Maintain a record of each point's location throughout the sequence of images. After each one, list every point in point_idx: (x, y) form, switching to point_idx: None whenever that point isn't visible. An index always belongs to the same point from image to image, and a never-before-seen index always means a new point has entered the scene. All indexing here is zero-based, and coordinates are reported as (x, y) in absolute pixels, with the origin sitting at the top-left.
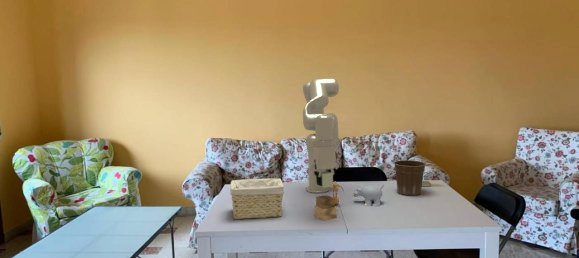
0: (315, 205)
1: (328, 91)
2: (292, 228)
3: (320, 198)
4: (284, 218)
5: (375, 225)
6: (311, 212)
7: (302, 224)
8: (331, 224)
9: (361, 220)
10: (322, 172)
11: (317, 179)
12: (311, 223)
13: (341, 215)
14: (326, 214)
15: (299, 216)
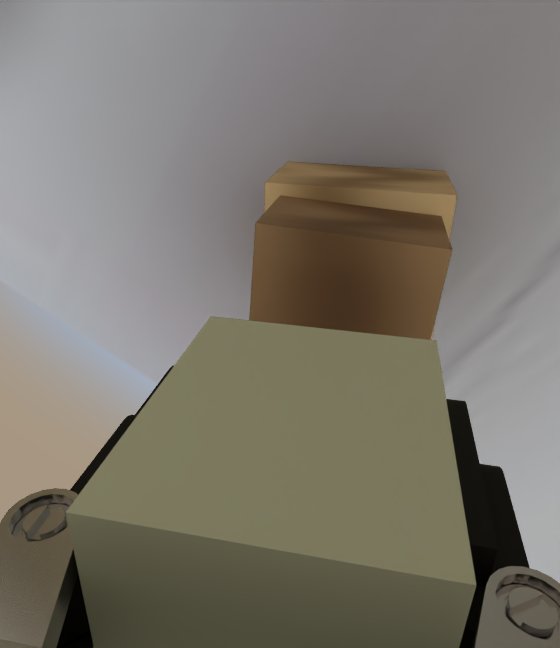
0: (272, 192)
1: None
2: (15, 288)
3: (261, 319)
4: (13, 48)
5: None
6: (320, 46)
7: (104, 269)
8: None
9: (529, 470)
10: (196, 638)
11: None
12: (172, 293)
13: (499, 302)
14: None
15: (156, 84)
